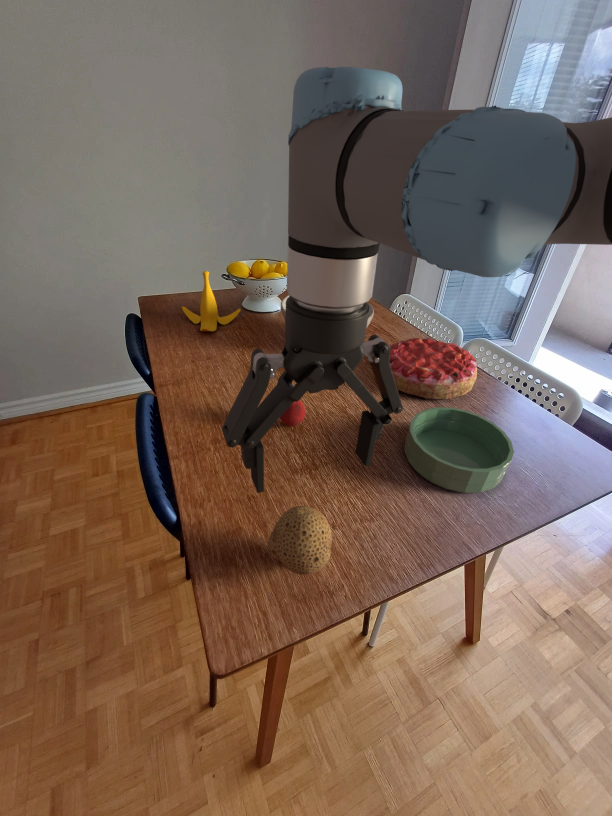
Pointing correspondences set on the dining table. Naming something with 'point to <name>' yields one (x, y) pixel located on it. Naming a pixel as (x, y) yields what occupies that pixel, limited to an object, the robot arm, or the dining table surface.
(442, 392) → the cake
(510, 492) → the dining table surface
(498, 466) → the green bowl
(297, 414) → the onion
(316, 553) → the natural sponge
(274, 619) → the dining table surface
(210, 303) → the banana peel
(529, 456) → the dining table surface
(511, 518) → the dining table surface
